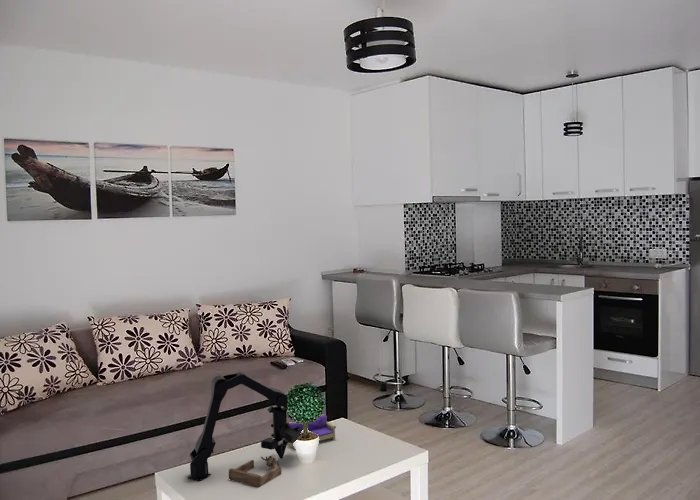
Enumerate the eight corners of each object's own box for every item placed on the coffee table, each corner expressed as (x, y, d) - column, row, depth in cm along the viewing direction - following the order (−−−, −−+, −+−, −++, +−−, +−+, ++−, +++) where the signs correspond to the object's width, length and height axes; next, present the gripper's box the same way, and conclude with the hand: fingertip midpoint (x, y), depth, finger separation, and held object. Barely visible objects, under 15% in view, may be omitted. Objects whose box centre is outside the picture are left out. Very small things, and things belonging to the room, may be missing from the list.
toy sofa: (295, 451, 266) (294, 428, 265) (286, 445, 273) (285, 422, 273) (336, 440, 277) (336, 418, 276) (327, 435, 284) (326, 413, 284)
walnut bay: (258, 487, 231) (258, 477, 230) (229, 479, 239) (228, 469, 238) (281, 474, 242) (280, 464, 242) (252, 467, 250) (251, 457, 250)
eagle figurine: (256, 466, 248) (262, 470, 240) (264, 449, 250) (270, 452, 242) (272, 473, 250) (279, 477, 242) (280, 456, 252) (287, 459, 244)
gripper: (281, 431, 241) (282, 470, 242) (308, 417, 257) (310, 454, 258) (259, 427, 247) (260, 465, 248) (287, 413, 263) (289, 449, 264)
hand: (281, 458), depth 254 cm, fingers closed
